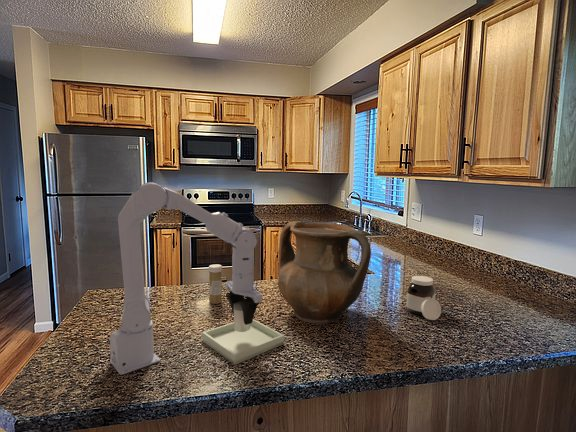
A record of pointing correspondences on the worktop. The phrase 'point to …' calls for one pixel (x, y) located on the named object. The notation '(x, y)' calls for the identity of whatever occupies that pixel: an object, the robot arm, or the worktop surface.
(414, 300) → the spread jar
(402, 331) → the worktop surface
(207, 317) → the worktop surface
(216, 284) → the sprinkles bottle
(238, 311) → the cylinder
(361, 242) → the jug
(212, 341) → the tray
